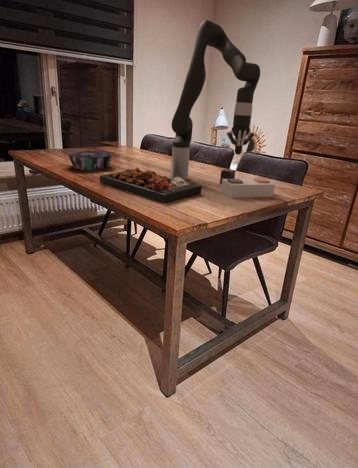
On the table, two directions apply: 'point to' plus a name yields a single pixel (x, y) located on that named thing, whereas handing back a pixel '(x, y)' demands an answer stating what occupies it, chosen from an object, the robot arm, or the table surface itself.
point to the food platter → (151, 185)
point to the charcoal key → (234, 181)
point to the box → (227, 174)
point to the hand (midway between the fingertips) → (237, 154)
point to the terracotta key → (261, 180)
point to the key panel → (247, 189)
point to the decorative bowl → (90, 159)
